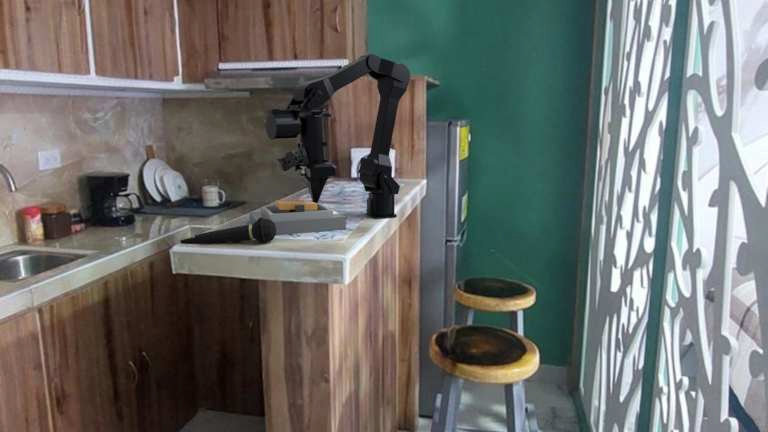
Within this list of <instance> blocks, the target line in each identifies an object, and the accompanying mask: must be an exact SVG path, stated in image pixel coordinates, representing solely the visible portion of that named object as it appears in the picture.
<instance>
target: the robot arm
mask: <svg viewBox="0 0 768 432" xmlns="http://www.w3.org/2000/svg"><path fill="white" fill-rule="evenodd" d="M365 75H368V77H370V78H372V79H374V80H376V81H377V83H376V84H377V90H378V91H377V92H378V94H379V104H378V109H377V115H376V120H375V126H374V131H373V136H372V141H371V145H370V146H371V148H370V152H369V153H368V155H367V157H361V158H360V162H359V169H358V171H357V173H358V174H359V175H358V176H359V181H360V182H361V185H363V187H364V191H365V193H366V192H367V193H368V197H367V198H366V215H367V216H369V217H371V218H373V219H383V218H395V217H398V214H396V213H395V207H396V206H395V204H396V203H395V199H396V197H395V195H398V194H399V191H400V189H401V188H400V187H401V186H400V184H399V183H398V182H397V181H396V180H395V179H394V177H393V165H392V161H391V159H390V151H391V148H392V147H391V146H392V141H393V135H394V131H395V130H394V129H395V125H396V119H397V114H398V108H399V103H400V100H401V99H402V98H403V96H404V94H405V93H406V92H407V90H408V87H409V84H410V80H411V71H410V69H409V67H408V66H407V65H406V64H404V63H397V62H395V61H392V60H388V59H385V58H382V57H380V56H378V55H377V54H374V53H368V54H363V55H360V56H359V57H358V58H357V59H354V60H353V61H352V62H349V63H348V64H345V65H344V66H342V67H341V68H338V69H336V70H334V71H332V72H331V73H329V74H327V75H325V76H323V77H320V78H316V79H312V80H308V81H304V82H302V83H298V84H297V85H296V86H295V87H294V88H293V96H292V98H291V99H290V101H289V103H288V105H287V106H286V107H285V109H279V108H270V109H268V115H267V118H266V121H265V122H266V123H265V131H266V133H265V134H266V135H267V137H268V139H270V140H271V141H273V140H274V141H276V140H289V139H290V140H292V139H293V140H294V139H296V138H297V137H298V135H299V141H297V143H296V148H295V149H293V150H288V151H287V152H284V153H282V154H280V155H278V156H276V157H275V160H276V162H277V164H278V167H279V168H280V171H282V172H287V171H289V170H291V169H292V171H295V172H297V171H299V170H301V173H299V172H298V175H299V176H300V177H301V178H302V179H303V180H305V182H306V185H307V188H308V193H309V195H310V198H311V201H312V202H314V203H319V201H320V199H321V196H322V193H323V191H324V187H325V186H326V183H327V181H328V178H330V177H337V176H338V167H337V166H336V165H335V164H334V163H332V162H328V159H327V158H326V155H325V154H326V149H325V147H327V146H328V145H327V141H325V134H324V133H325V131H324V118H331V117H332V113H330V112H329V111H328V110H326V108H325V107H324V105H325V104H326V103H327V102H329V101H330V100H331V99H332V98H333V96H334V95H335V93H336V92H338V91H339V90H341V89H342V88H344V87H346V86H348V85H350V84H351V83H353V82H355V81H357V80H358V79H361V78H362V77H364V76H365ZM313 109H317V110H313ZM301 113H304V114H303V115H300V114H301Z"/></svg>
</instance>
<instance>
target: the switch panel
mask: <svg viewBox="0 0 768 432" xmlns="http://www.w3.org/2000/svg"><path fill="white" fill-rule="evenodd" d="M293 201H298V200H296V199H295V200H293ZM317 204H318V207H317V210H304V205H295V210H279V209H278V208H277V207H276V206H275V205H261V207H260V208H261V210H260V211H251V212H250V211H249V212H248V213H249V224H251V225H253V224H254V223H255V222H256V221H257V220H258V218H261V217H263V218H264V219H270V220H272V221H273V222H274V223H275V225H276V236H281V235H282V236H283V235H293V234H295V235H296V234H306V233H307V234H308V233H316V232H317V233H318V232H330V231H344V230H347V218H346V216H345V215H344V214H342V213H340V212H338V211H336V210H335V209H333V208H332V207H329V206H326V205H324V204H323V203H320V202H318V203H317Z"/></svg>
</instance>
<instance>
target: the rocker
mask: <svg viewBox="0 0 768 432" xmlns="http://www.w3.org/2000/svg"><path fill="white" fill-rule="evenodd" d="M274 204H275V205H274V206H276V207H277V208H278V209H279V210H295V205H304V210H317V207H318V204H317V203H314V202H312V200H297V201H293V200H285V199H284V200H282V199H281V200H279V199H278V200H277V199H276V200H275V202H274Z"/></svg>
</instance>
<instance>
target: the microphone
mask: <svg viewBox="0 0 768 432" xmlns="http://www.w3.org/2000/svg"><path fill="white" fill-rule="evenodd" d="M276 236H277V235H276V225H275V223H274V222H273V221H272V220H270V219H264V218H263V217H261V218H258V220H257V221H256V222H255V223H254V224H253V225H251V224H250V223H248V224H245V225H239V226H234V227H227V228H222V229H217V230H213V231H206V232H201V233H198V234H195V235H194V236H191V237H187V238H184V239H181V240H179V242H180V243H181V244H193V243H195V244H199V245H201V244H203V245H205V244H206V245H207V244H208V245H209V244H226V243H241V242H247V241H248V242H250V241H253V240H255V241H257V243H260V244H263V245H265V244H267V243H268V242H271V241H273V240H274V238H275V237H276Z"/></svg>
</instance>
